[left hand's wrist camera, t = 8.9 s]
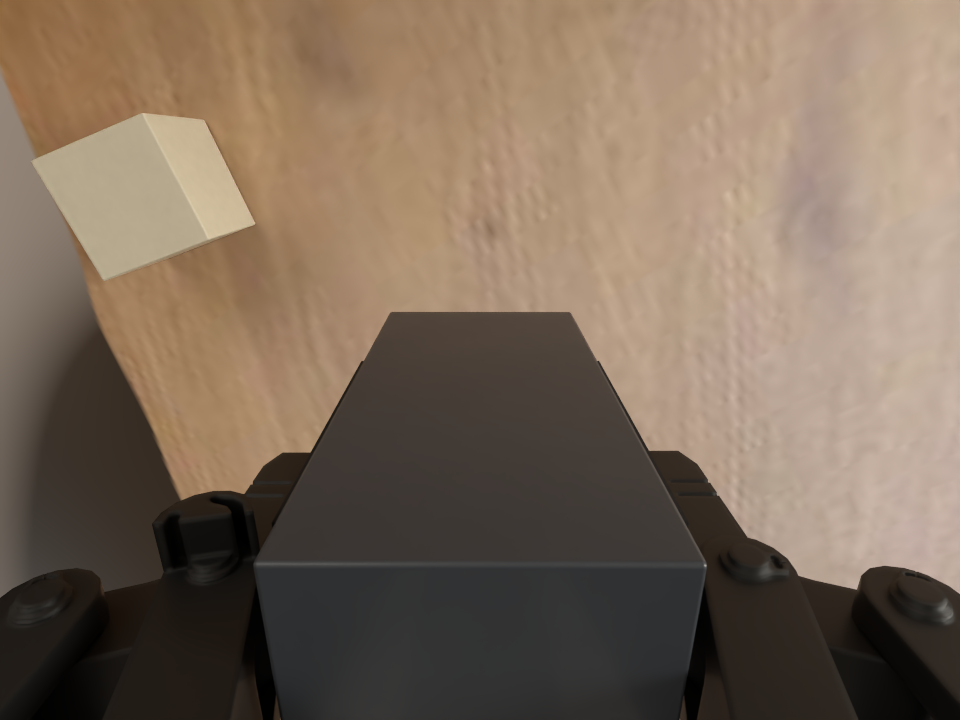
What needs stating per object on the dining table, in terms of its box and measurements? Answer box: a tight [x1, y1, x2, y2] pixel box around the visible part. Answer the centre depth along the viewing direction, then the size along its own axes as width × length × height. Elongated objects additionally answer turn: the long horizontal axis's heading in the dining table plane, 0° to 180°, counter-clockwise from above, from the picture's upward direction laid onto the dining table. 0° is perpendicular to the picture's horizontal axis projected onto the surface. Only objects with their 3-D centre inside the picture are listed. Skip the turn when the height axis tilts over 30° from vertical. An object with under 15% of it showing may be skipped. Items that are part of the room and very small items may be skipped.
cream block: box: [31, 113, 255, 281], centre depth 24 cm, size 5×5×5 cm
